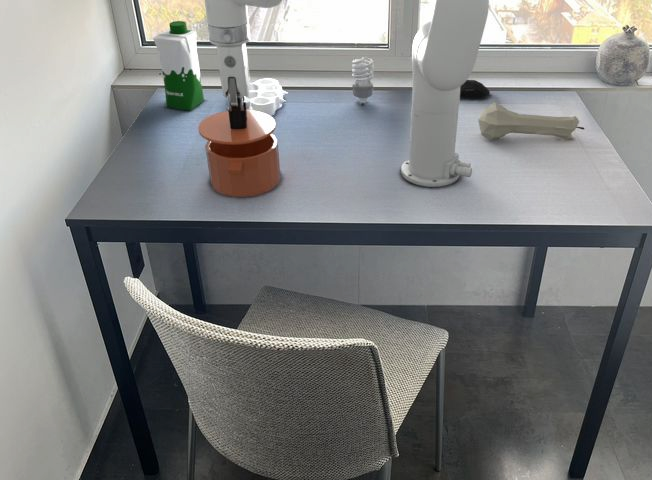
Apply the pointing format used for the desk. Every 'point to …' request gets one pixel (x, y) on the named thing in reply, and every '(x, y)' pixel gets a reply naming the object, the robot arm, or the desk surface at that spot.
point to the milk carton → (180, 66)
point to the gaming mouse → (473, 90)
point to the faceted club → (523, 123)
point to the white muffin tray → (266, 96)
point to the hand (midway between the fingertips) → (239, 124)
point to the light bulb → (363, 86)
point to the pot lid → (220, 131)
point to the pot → (244, 167)
